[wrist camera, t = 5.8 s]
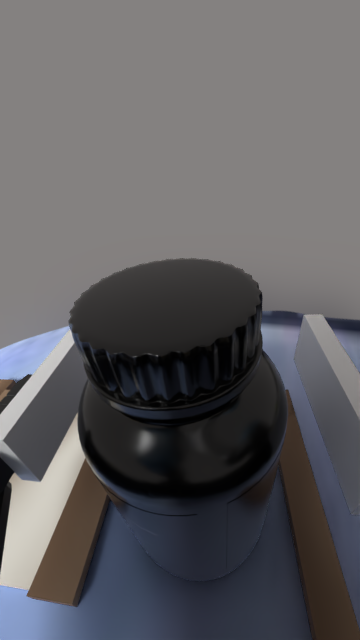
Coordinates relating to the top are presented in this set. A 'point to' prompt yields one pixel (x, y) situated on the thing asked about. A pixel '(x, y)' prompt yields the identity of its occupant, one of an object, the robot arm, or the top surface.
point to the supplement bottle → (181, 409)
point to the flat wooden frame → (90, 508)
